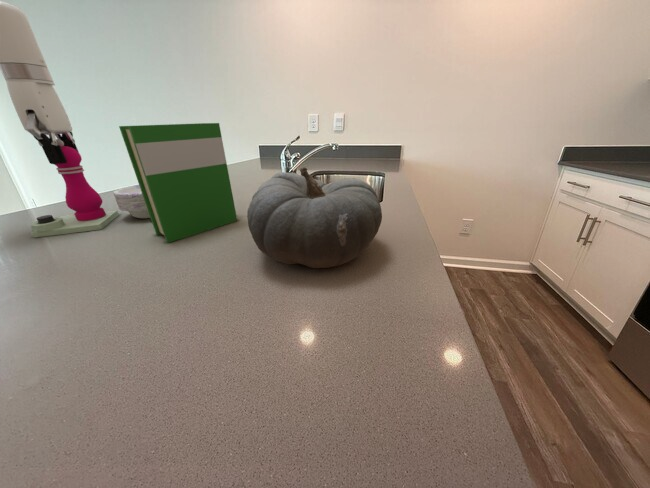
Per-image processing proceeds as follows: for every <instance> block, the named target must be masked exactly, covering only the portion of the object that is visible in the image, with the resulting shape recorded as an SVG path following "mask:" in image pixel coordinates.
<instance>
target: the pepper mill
mask: <svg viewBox="0 0 650 488" xmlns="http://www.w3.org/2000/svg"><path fill="white" fill-rule="evenodd" d="M56 142H57V145H60V147H61V149H62V151H63V153H64V156H65V158H66V160H67V163H62V164H53V165H54V166H56V169H55V170H56V171H57V174H59V175H61V177H62V180H63V181H64V183H65V202H66V205H67V208H69V209H70V210H72V211H74V214H73V215H75V217H76V219H77V220H78V221H88V220H94V219H98V218H101V217H103V216H105V215H106V213H105V212H106V210H105V208H103V207H101V206H102V204H103V199H102V197H101V195H100V194H99V193H98V192H97V190H95V189H94V188H93V187H92V186H91V184H89V182H88V181H87V178H86V177H85V174H84V171H85V169H84V168H83V165H81V163H82V155H81V154H80V152H79V150H78V151H77V150H75V149H74V148H71V147H68V146H64V143H63V141H61V140H59V139H57V138H56Z"/></svg>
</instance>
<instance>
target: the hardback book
mask: <svg viewBox="0 0 650 488" xmlns="http://www.w3.org/2000/svg"><path fill="white" fill-rule="evenodd" d="M220 126H221V125H220V123H219V122H207V123H206V122H202V123H201V122H199V123H198V122H197V123H174V124H173V123H172V124H170V123H169V124H146V125H144V124H143V125H142V124H141V125H119V126H118V128H119V130H120V133H121V137H122V139H123V142H124V145H125V148H126V152H127V153H128V156H129V160H130V162H131V163H130V164H131V165H132V168H133V171H134V174H135V177H136V180H137V183H138V185H139V186H140V189H141V192H142V194H143V197H144V200H145V203H146V206H147V209H148V212H149V215H150V218H149V219H150V220H151V223H152V226H153V230H154V232H155V235H156V236H164V238H165V241H166V243H168V244H170V243H172V242H176V241H179V240H182V239H186V238H188V237H190V236H191V237H192V236H194V235H197V234H201V233H203V232H207V231H210V230H213V229H215V228H219V227H223V226H225V225H229V224H231V223H234V222H237V221H238V217H237V216H238V215H237V211H236V206H235V201H234V195H233V190H232V184H231V180H230V174H229V169H228V164H227V163H228V162H227V158H226V152H225V147H224V142H223V137H222V131H221V127H220Z"/></svg>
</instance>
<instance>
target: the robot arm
mask: <svg viewBox="0 0 650 488" xmlns="http://www.w3.org/2000/svg"><path fill="white" fill-rule="evenodd" d="M45 60H46V59H45V58H44V55H43V53H42V51H41V48H40V45H39V44H38V41H37V39H36V37H35V34H34V32H33V29H32V27H31V25H30V22H29V20H28V18H27V16H26V14H25V13H24V12H23V10H21V9H20V8H18V7H17V6H16V5H13V4H11V3H8V2H6V1H3V0H0V72H1V74H2V76H3V78H4V80H5V82H6V87H7V91H8V93H9V96H10V99H11V102H12V104H13V106H14V109H15V112H16V114H17V116H18V119H19V121H20V123H21V125H22V127H23V129H24V130H25V131H26V132H27V133H29V134H30V135H32V136H33V138H34V139H35V140H36V141H37V142H38V145H39V146H40V147H41V148H42V150H43V153H44V155H45V156H46V159H47V160H48V162H49V164H50V165H54V164H62V163H67V160H66V158H65V156H64V153H63V151H62V149H61V147H60V145H57V142H56V139H59V140H61V141H63V143H64V146H68V147H71V148H74V149H75V150H77V151H78V152H79V149H78V147H77V145H76V140H75V138H74V134H73V126H72V124H71V121H70V119H69V117H68V114H67V111H66V109H65V107H64V105H63V102H62V101H61V99H60V97H59V95H58V93H57V91H56V89H55V88H54V86H56V85H55V81H54V80H53V77H52V75H51V73H50V70H49V67H48V65H47V62H46V61H45Z"/></svg>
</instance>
